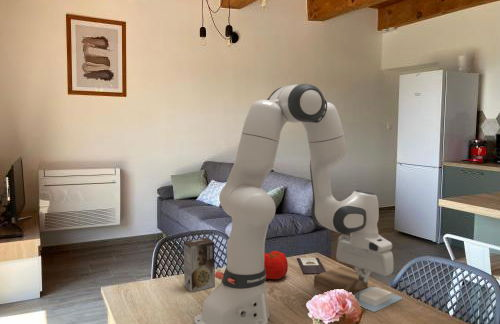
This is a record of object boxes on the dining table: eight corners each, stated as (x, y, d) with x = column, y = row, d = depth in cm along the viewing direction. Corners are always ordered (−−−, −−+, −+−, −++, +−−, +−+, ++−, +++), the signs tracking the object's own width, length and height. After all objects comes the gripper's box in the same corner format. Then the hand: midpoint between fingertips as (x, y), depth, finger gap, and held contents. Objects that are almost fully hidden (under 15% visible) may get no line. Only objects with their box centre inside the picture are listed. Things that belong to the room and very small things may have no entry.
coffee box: (207, 281, 151) (206, 237, 150) (215, 287, 146) (215, 241, 144) (183, 286, 146) (182, 241, 145) (191, 292, 141) (190, 245, 139)
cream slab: (359, 293, 134) (359, 299, 134) (375, 299, 130) (375, 306, 130) (376, 286, 140) (375, 292, 140) (392, 292, 135) (391, 298, 135)
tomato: (273, 269, 163) (273, 246, 162) (294, 278, 154) (294, 254, 153) (251, 275, 157) (251, 251, 156) (271, 285, 147) (271, 260, 146)
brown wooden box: (341, 297, 137) (341, 285, 136) (314, 286, 146) (314, 275, 146) (367, 287, 146) (367, 276, 145) (339, 277, 155) (340, 266, 154)
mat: (374, 312, 126) (374, 311, 126) (342, 299, 135) (342, 298, 135) (403, 298, 136) (403, 297, 136) (371, 287, 145) (371, 286, 145)
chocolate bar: (303, 273, 158) (296, 257, 176) (303, 275, 158) (296, 260, 176) (327, 273, 158) (318, 257, 176) (327, 275, 158) (318, 259, 176)
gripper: (332, 234, 143) (331, 274, 144) (385, 248, 127) (384, 292, 129) (344, 231, 147) (343, 270, 148) (397, 244, 131) (395, 287, 133)
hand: (362, 280), depth 138 cm, fingers closed
